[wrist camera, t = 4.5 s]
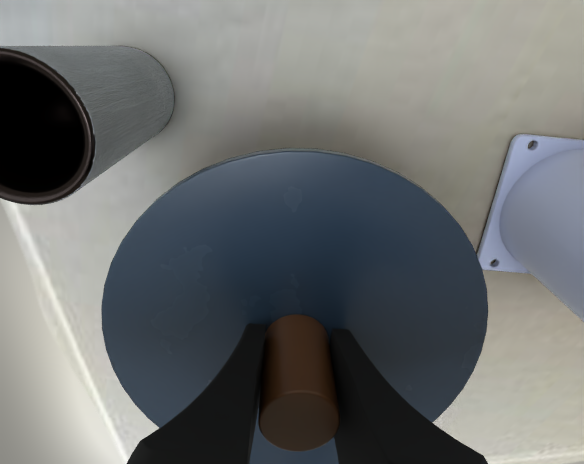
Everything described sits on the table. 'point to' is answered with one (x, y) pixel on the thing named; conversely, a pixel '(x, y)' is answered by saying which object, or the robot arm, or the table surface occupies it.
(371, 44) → the table surface
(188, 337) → the pan lid
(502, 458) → the table surface
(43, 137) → the gray hollow cylinder
